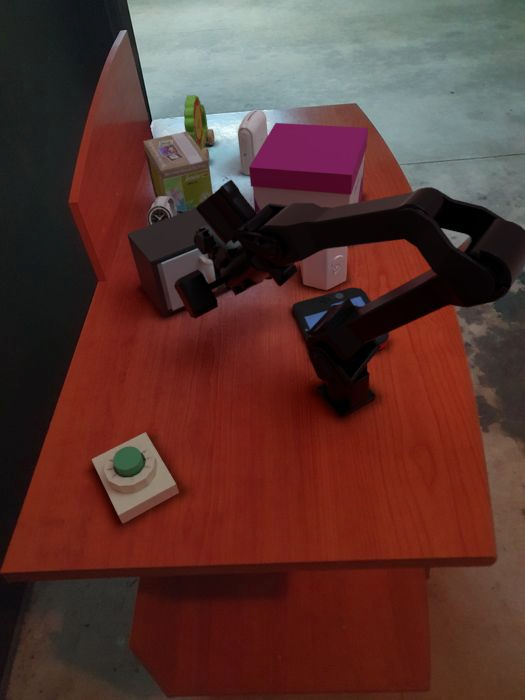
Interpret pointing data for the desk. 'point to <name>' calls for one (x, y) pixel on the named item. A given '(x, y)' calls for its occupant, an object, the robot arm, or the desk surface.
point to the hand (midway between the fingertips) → (220, 286)
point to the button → (128, 461)
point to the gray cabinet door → (186, 272)
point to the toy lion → (197, 123)
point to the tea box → (179, 170)
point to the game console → (318, 306)
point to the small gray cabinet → (164, 253)
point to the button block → (136, 480)
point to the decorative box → (309, 166)
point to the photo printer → (251, 137)
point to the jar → (325, 268)
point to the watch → (161, 209)
